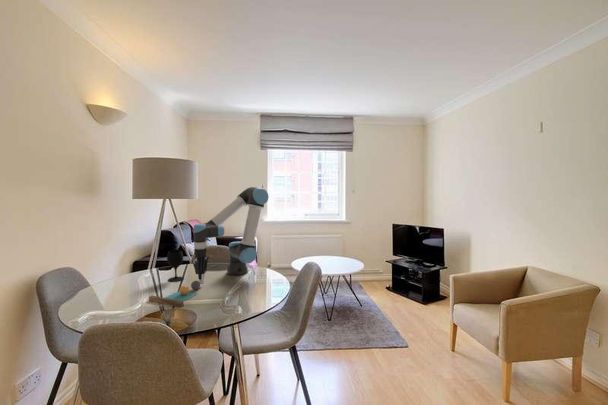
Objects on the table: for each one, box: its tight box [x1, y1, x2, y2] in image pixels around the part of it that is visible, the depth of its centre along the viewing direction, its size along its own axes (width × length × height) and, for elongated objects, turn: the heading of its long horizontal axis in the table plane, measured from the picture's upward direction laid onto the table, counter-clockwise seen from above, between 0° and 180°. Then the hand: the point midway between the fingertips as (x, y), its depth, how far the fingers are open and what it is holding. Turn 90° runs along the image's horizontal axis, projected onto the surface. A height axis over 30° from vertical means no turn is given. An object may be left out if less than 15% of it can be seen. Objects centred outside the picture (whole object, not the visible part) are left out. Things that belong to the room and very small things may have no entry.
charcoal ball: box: [190, 280, 201, 291], centre depth 197 cm, size 6×6×6 cm
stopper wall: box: [148, 294, 185, 308], centre depth 176 cm, size 2×24×2 cm, turn 67°
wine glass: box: [166, 249, 185, 283], centre depth 216 cm, size 10×10×20 cm
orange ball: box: [178, 285, 190, 295], centre depth 189 cm, size 6×6×6 cm
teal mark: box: [164, 290, 198, 303], centre depth 186 cm, size 14×14×1 cm
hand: (201, 283), depth 203 cm, fingers closed
